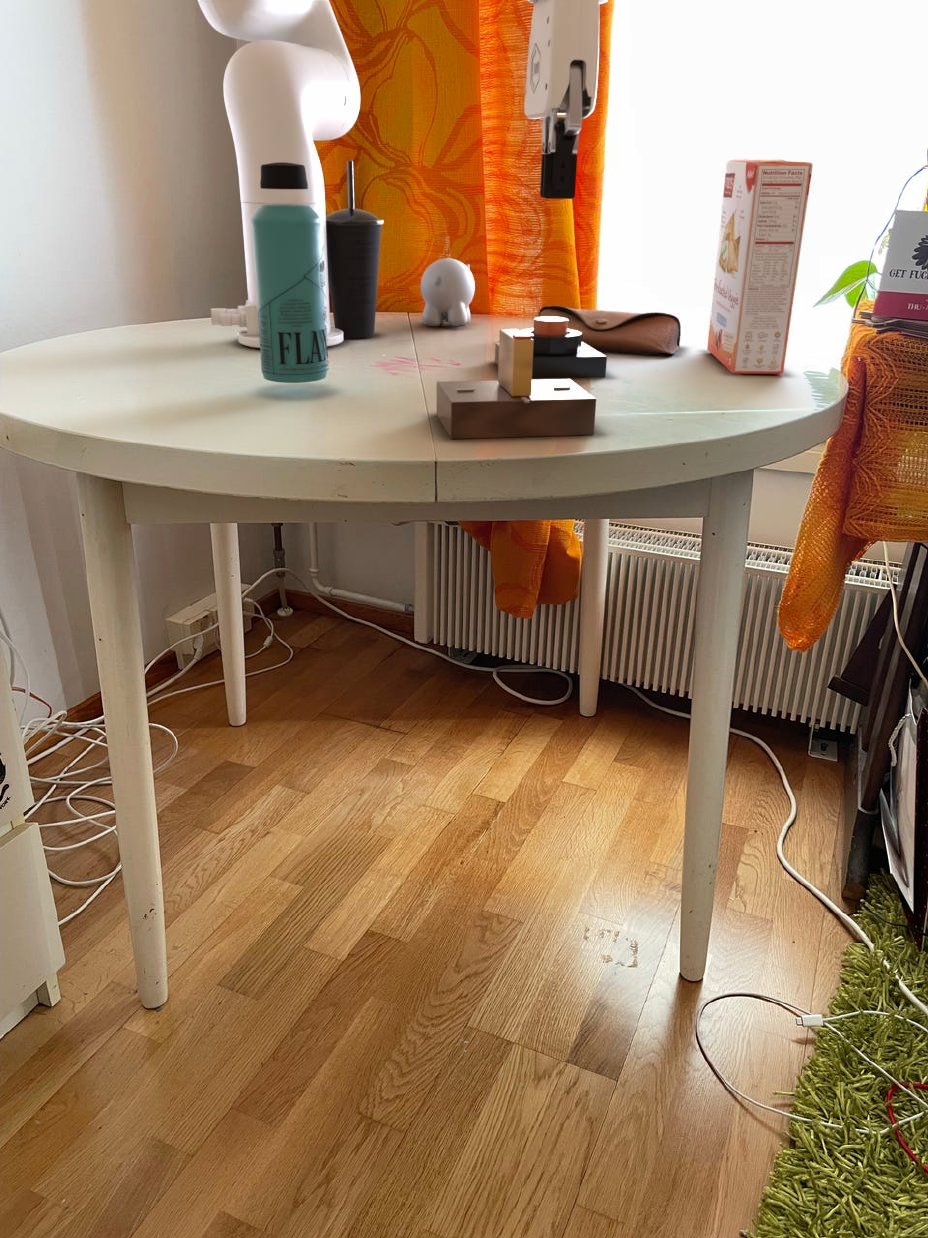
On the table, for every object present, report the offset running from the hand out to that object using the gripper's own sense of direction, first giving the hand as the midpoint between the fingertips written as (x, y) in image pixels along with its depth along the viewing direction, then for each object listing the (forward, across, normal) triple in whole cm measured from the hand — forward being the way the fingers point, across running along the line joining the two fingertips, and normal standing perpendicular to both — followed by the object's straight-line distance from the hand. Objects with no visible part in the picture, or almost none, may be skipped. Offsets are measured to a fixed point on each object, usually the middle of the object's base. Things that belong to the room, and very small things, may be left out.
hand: (557, 197), depth 99 cm
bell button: (+14, 0, 0) cm, 14 cm away
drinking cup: (+17, -24, -19) cm, 35 cm away
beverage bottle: (+17, +8, -27) cm, 33 cm away
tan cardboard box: (+14, +23, -9) cm, 28 cm away
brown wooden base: (+17, +23, -9) cm, 30 cm away
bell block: (+17, 0, 0) cm, 17 cm away
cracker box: (+17, -2, +23) cm, 29 cm away
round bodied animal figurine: (+17, -34, -5) cm, 38 cm away
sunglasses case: (+17, -13, +10) cm, 24 cm away
